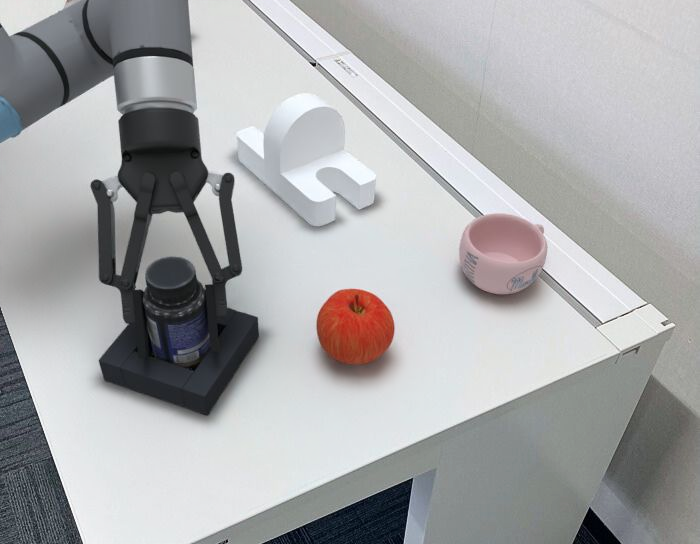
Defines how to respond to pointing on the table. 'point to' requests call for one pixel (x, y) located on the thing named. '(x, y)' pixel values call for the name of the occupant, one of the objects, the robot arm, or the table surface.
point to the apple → (355, 326)
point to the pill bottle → (176, 312)
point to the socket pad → (176, 381)
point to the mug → (502, 252)
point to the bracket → (307, 159)
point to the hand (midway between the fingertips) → (179, 353)
